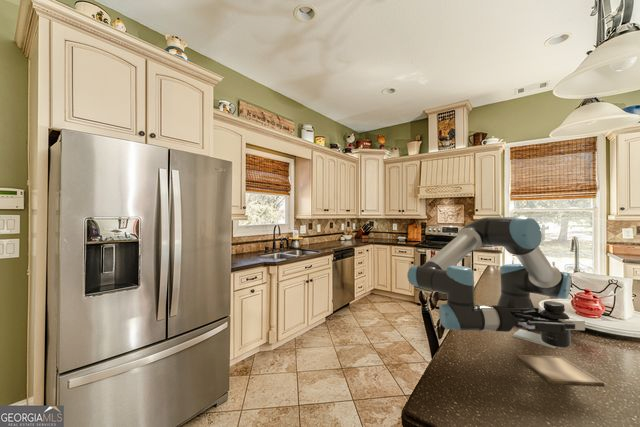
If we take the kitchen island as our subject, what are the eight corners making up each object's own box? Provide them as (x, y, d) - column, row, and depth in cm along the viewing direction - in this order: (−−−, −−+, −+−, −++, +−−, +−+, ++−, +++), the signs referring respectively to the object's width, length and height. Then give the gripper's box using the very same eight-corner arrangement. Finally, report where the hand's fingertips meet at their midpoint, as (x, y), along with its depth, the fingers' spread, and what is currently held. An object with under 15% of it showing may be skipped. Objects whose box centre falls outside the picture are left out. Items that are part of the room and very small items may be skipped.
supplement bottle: (547, 336, 85) (546, 298, 86) (575, 345, 79) (574, 304, 80) (536, 340, 82) (535, 301, 83) (563, 350, 76) (562, 308, 77)
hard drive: (513, 333, 104) (554, 345, 94) (520, 328, 109) (560, 339, 99) (513, 338, 104) (555, 350, 94) (520, 332, 109) (560, 343, 99)
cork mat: (561, 358, 87) (561, 356, 87) (603, 385, 73) (603, 382, 73) (516, 357, 88) (516, 354, 88) (549, 382, 74) (549, 380, 74)
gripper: (477, 318, 92) (547, 320, 90) (513, 345, 73) (604, 348, 71) (476, 296, 92) (547, 298, 90) (513, 317, 73) (604, 319, 71)
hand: (572, 320), depth 81 cm, fingers closed on supplement bottle, 7 cm apart
